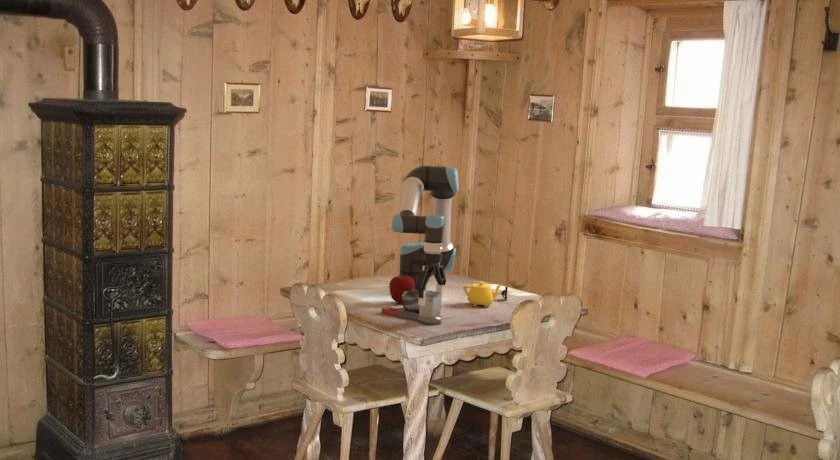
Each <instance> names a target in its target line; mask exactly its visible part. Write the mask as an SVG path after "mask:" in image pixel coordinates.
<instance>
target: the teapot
mask: <svg viewBox="0 0 840 460" xmlns="http://www.w3.org/2000/svg"><path fill="white" fill-rule="evenodd" d="M502 286H503V284H498V285H497V286H496V287H495V289H494V291H495V292H494V293H493V292H492V286H491V284H488V283H487V284H486V283H485V282H484V281H479V282H478V283H472V285H467V284H465V285H463V286H462V290H463V291H464V293H465V294H466V295H467V300H468V302H469V304H471V305H472V307H474V306H478V305H479V306H483V308H489V306H491V305H492V303H494V300H495V299H496V298H497V296H499V295H498V291H500V288H501V287H502ZM468 288H469V290H468Z"/></svg>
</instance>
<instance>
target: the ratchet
mask: <svg viewBox="0 0 840 460" xmlns="http://www.w3.org/2000/svg"><path fill="white" fill-rule="evenodd" d="M380 313H381V314H380V315H386V316H391V317H396V318H401V319H407V320H412V321H416V323H418V324H419V325H423V326H437V325H438V326H439V325H441V324H442V318H443V316H442V315H440V316H439V317H437V318H434V319H430V318H425V317H420V316H419V313H418V312H408V311H404V309H400V308H396V307H391V306H385V307H384V306H383V307H382V308H381V312H380Z"/></svg>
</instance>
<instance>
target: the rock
mask: <svg viewBox="0 0 840 460" xmlns="http://www.w3.org/2000/svg"><path fill="white" fill-rule="evenodd" d="M418 300H419V291H417V290H414V289H412V290H409V291H404V292H403V294H402V302H403V304H402V305H403V306H402V307H403V311H408V312H413V313H418V312H419V307H420V305H418Z"/></svg>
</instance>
